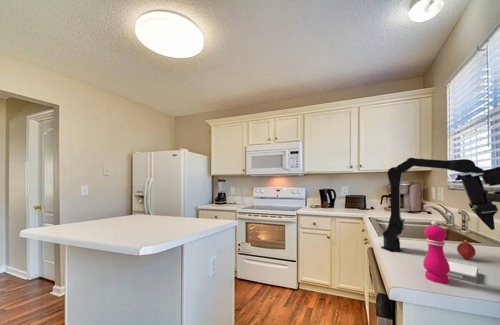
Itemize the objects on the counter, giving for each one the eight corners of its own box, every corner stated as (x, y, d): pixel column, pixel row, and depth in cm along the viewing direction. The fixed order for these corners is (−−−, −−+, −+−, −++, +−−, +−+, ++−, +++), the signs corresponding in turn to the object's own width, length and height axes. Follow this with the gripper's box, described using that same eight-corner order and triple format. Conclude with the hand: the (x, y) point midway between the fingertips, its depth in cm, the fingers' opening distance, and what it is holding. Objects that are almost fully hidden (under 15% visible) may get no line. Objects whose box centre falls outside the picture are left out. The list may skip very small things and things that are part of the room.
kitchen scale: (435, 273, 85) (434, 267, 85) (439, 265, 93) (439, 259, 93) (476, 283, 77) (476, 276, 77) (478, 273, 85) (478, 267, 85)
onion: (479, 262, 96) (478, 242, 96) (463, 261, 97) (462, 241, 98) (469, 257, 102) (468, 238, 102) (454, 256, 103) (453, 238, 103)
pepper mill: (444, 285, 75) (441, 224, 76) (419, 277, 82) (417, 220, 83) (454, 281, 79) (452, 221, 80) (430, 273, 85) (428, 218, 86)
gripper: (507, 185, 83) (527, 229, 80) (496, 183, 97) (513, 220, 94) (467, 191, 89) (484, 233, 86) (462, 189, 104) (476, 224, 101)
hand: (490, 227), depth 92 cm, fingers open, 9 cm apart
